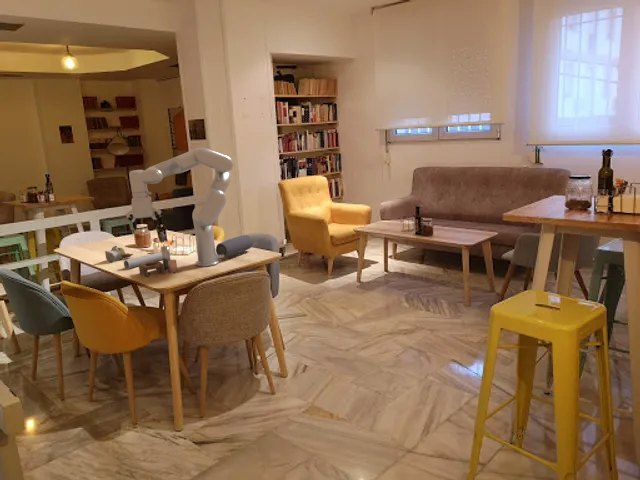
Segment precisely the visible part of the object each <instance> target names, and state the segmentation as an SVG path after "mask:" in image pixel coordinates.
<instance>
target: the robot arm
mask: <svg viewBox="0 0 640 480" xmlns="http://www.w3.org/2000/svg"><path fill="white" fill-rule="evenodd" d="M201 165H203V166H206V167H209V168H211V169H214V177H213V180H212V182H211V183H210V184H209V187H208V188H207V190H206V191H205V192H204V196H203V200H204V204H203V205H197V206H196V207H195V208H194V209H193V211H192V222H193V226H194V227H193V228H194V233H195V235H194V236H195V243H196V244H195V245H196V253H197V261H195V266H196V267H212V266H215V265H216V266H217V264H219V263H220V260H219V259H224V254H221V255H220V254H218V255H217V253H216V246H215V237H214V227H213V225H214V223H215V222H216V221H217V219H219V218H218V217H219V216H220V214H221V212H222V211H223V209H224V208H225V206H226V202H227V196H226V194H225V193H226V191H227V189H228V187H229V185H230V184H231V179H232V175H231V174H232V173H231V170H233V167H234V162H233V159H232V158H231V157H230V156H229V155H226V154H223V153H220V152H217V151H215V150H213V149H209V148H208V147H207V148H206V147H196V148H193V149H191V150H189V151H187V152H185V153H182V154H179V155H178V156H174V157H172V158H169V159H167V160H165V161H161V162H159V163H157V164H154V165H152V166H149V167H148V168H146V169H145V170H144V169H136V170H131V171H129V173H128V174H129V183H130V187H131V193H132V194H131V195H132V198H131V210H130V211H128V212H126V213H125V216H126V218H127V220H128V221H130V222H131V223H132V228H133V229H134V231H137V229H138V225H137V221H136V219H144V218H145V219H146V218H152V219H153V226H154V229H157V226H159V225H158V218H160V217H161V216H160V215H161V213H162V210H161V209H158V208H157V207H154V203H153V200H152V197H151V196H150V195H152V191H149V190H148V184H150V185H151V184H152V185H153V184H159V183H161V182H162V180H163V178H165V177H169V176H171V175H172V176H173V175H176V174H182V173H184V172H187V171H190V170H192V169H194V168H196V167H199V166H201ZM155 212H156V213H157V215H156V214H155ZM131 214H132V216H130V215H131Z"/></svg>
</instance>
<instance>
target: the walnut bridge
mask: <svg viewBox="0 0 640 480" xmlns="http://www.w3.org/2000/svg"><path fill="white" fill-rule="evenodd" d="M151 270H156V271H157V272H158V273H159V274H161V275H165V274H166V270H164V264H163V262H161V260H160V261H158V260H157V261H152V262H147V263H142V264H139V266H138V271H139V274H140V275H141V276H142V277H144V278H145V277H146V278H149V272H148V271H151Z"/></svg>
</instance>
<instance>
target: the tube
mask: <svg viewBox="0 0 640 480" xmlns="http://www.w3.org/2000/svg"><path fill="white" fill-rule="evenodd" d="M157 260H158V261H160V262H161V261H163V260H162V252H161V251H158V252H154V253H150V254H145V255H142V256H139V257H135V258H134V257H133V258H130V259H125V260H124V261H123V266H124V269H125V270H130V269H134V268H137V267H138V268H139V264H142V263H147V262H152V261H157Z"/></svg>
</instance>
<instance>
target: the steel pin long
mask: <svg viewBox="0 0 640 480" xmlns="http://www.w3.org/2000/svg"><path fill="white" fill-rule="evenodd" d="M169 246H170V245H163V246H161V247H160V250H161V251H160V252H162V260H161V261H162V263H163V264H164V270H165V271H169V264H168V261H169V260H171V253H170V247H169Z"/></svg>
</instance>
